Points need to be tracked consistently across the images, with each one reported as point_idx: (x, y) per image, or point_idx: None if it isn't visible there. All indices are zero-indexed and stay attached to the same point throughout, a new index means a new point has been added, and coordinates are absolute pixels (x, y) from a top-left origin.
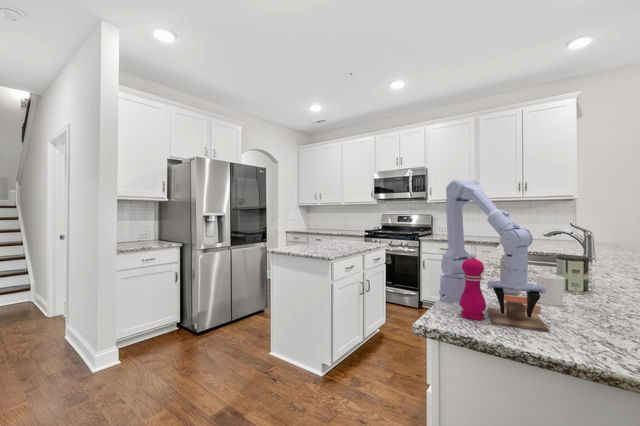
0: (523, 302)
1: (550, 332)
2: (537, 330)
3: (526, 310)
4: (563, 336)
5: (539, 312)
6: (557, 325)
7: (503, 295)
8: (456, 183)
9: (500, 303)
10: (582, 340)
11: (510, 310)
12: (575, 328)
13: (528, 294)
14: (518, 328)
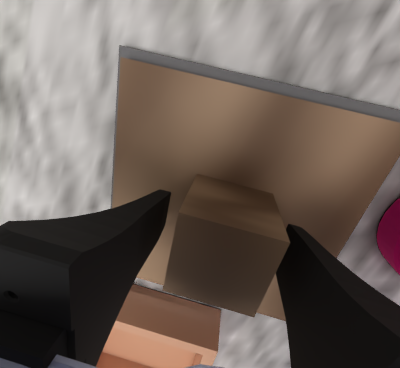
0: (118, 365)
1: (120, 52)
2: (177, 69)
3: (136, 299)
4: (73, 46)
5: None
6: (65, 187)
7: (388, 325)
8: None
9: (346, 268)
10: (6, 8)
11: (270, 216)
12: (10, 164)
13: (91, 327)
14: (272, 81)
